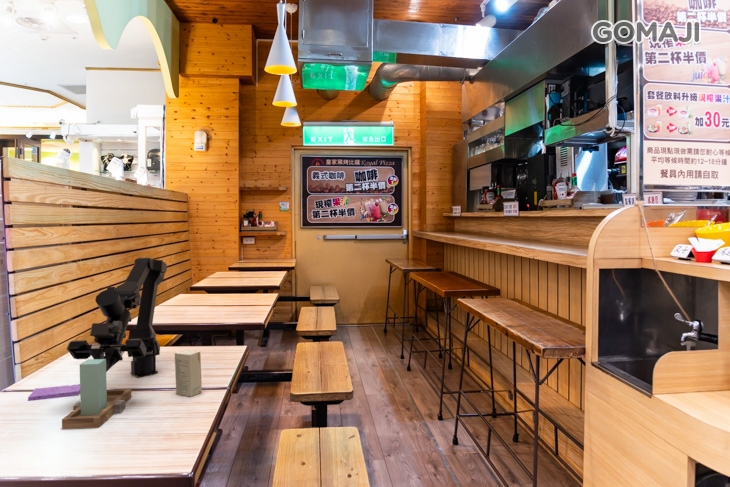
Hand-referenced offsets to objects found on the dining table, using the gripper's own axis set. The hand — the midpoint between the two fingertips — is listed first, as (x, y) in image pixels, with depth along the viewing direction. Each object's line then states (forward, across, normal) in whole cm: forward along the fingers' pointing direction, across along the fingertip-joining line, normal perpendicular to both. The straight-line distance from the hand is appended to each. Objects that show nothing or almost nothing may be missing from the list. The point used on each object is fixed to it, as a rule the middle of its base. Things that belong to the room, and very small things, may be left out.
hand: (98, 377), depth 121 cm
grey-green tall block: (+7, 0, +4) cm, 8 cm away
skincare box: (-2, +20, +16) cm, 25 cm away
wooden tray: (+6, 0, +7) cm, 9 cm away
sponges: (-4, -19, +18) cm, 26 cm away
